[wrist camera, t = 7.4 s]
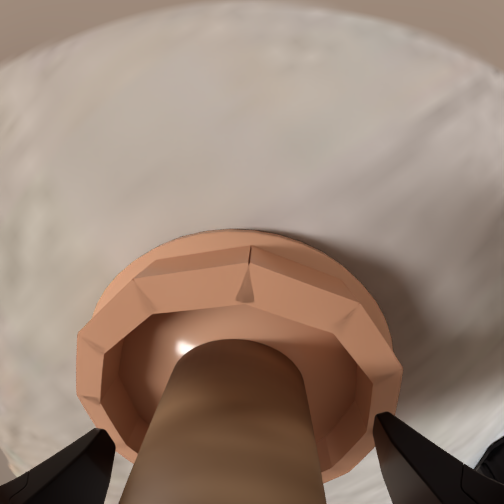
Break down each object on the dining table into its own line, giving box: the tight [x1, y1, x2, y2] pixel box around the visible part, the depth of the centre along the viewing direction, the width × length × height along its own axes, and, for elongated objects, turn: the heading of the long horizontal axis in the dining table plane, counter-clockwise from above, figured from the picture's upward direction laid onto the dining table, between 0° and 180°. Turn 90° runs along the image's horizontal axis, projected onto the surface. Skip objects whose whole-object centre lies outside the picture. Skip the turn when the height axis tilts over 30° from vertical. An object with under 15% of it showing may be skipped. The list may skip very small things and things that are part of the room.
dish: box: [76, 229, 403, 483], centre depth 9 cm, size 12×12×3 cm
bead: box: [119, 339, 326, 504], centre depth 7 cm, size 5×5×6 cm
